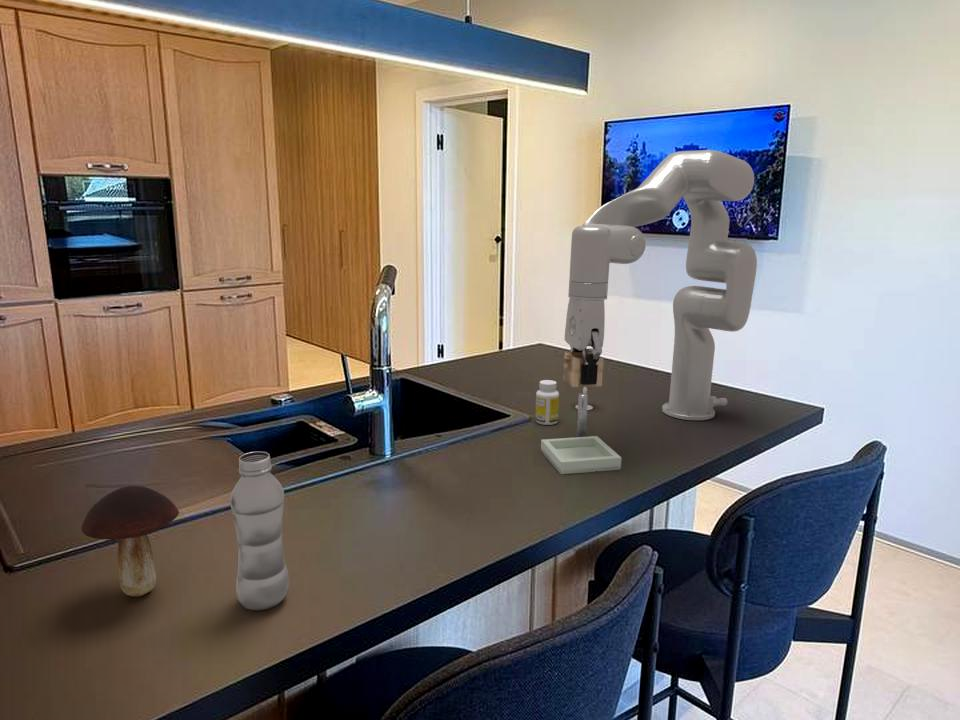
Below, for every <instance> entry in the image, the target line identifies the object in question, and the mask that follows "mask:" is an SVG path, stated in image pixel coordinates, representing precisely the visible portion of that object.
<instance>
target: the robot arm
mask: <svg viewBox="0 0 960 720" xmlns="http://www.w3.org/2000/svg"><path fill="white" fill-rule="evenodd" d="M754 184H755V174H754V171H753V169H752V166H751V165H750V164H749V163H748V162H747V161H746V160H743V159H740V158H738V157H735V156H734V155H731V154H728V153H726V152H723V151H719V150H715V149H703V150H702V149H700V150H680V151H675V152H673V153H670V154H668V155H667V156H666V157H665V158H664V159H663V160H662V161H661V162H660V163H659V164H658V165H657V166H656V167H655V168H654V169H653V170H652V171H651V172H650V174H649V175H648V176H647V177H646V178H645V179H644V180H643V181H642V183H640V185H638V187H636V188H635V189H632V190H630V191H628V192H626V193H624V194H621V195H620V196H618V197H617V198H615V199H612V200H611V201H608V202H606V203H604V204H603V205H602V206H600V207H599V208H597V209H596V210H595V211H594V212H592V214H591V215H590V216H589V217H588V218H587V219H586V220H585V221H584V222H583V224H582V225H580V226H576V227H574V229H573V230H572V233H571V241H570V243H571V245H570V258H569V259H570V260H569V261H570V262H569V263H570V264H569V279H568V299H569V300H568V303H567V310H566V311H567V312H566V319H565V328H564V329H565V331H564V341H565V342H566V344H567V345H569V346H570V350H569V353H574V352H583V363H584V364H582V365H581V381H580V383H581V384H582V385H591V384H596V383H597V371H598V364H599V358H600V357H601V355H602V353H603V346H604V339H605V320H606V319H605V301H606V300H608V289H609V277H610V275H609V274H610V264H618V265H628V264H633V263H635V262H637V261H638V260H640V258H641V257H643V255H644V252H645V250H646V247H647V246H646V237H645V235H644V234H643V232H642V231H641V230H640V229H639V228H637V227H640V226H644V225H649V224H653V223H655V222H659V221H661V220H663V219H665V218H666V217H668V215H669V214H670V213H671V212H672V211H673V209H674V208H675V207H676V206H677V205H678V204H679V203H680V201H681V200H682V199H683V200H684V201H685V203H686V205H687V207H688V208H687V209H688V210H689V213H690V220H691V221H690V233H689V239H688V247H687V254H686V259H685V260H686V261H685V271H686V274H687V275H688V277H690V278H691V279H693V280H698V281H703V282H704V281H705V282H711V283H720V284H721V283H722V284H725V286H726V287H725V288H716V287H711V286H710V287H709V286H701V285H689V286H685V287H682V288H681V289H679V290H678V291H677V292H676V294H675V296H674V298H673V303H672V313H673V321H674V340H673V341H674V343H673V352H672V364H671V374H670V375H671V377H670V387H669V399H668V402H665V403H663V405H662V406H661V408H662V409H661V411H662V412H663V413H664V414H665V415H667V416H669V417H672V418H675V419H679V420H686V421H707V420H711V419H713V418H714V417H715V415H716V410H715V409H714V408H716V407H717V406H718V407H719V406H720V407H721V406H723V407H724V406H727V404H728V399H727V398H726V397H718V398H717V397H716V396H712V395H711V388H712V380H713V370H714V360H715V359H714V358H715V350H716V346H715V345H716V343H715V340H714V339H715V338H714V337H713V334H712V331H710V329H712V330H718V331H723V332H732V333H733V332H739V331H740V330H742V329H743V328H744V327H745V325H746V324H747V321H748V320H749V315H750V311H751V307H752V298H753V293H754V287H755V283H756V282H755V280H756V275H757V267H758V260H757V254H756V252H755V249H754V248H753V247H752V246H751V245H750V244H749V243H745V242H741V241H740V242H739V241H736V242H735V241H729V239H728V236H729V229H730V216H729V213H728V211H727V208H726V207H725V205H724V204H723V202H739V201H742V200H744V199H745V198H747V197H748V196H749V195H750V193H751V192H752V190H753V188H754ZM588 347H591V348H588ZM587 352H592V353H590V354H589V356H588V354H587Z"/></svg>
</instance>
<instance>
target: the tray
mask: <svg viewBox="0 0 960 720" xmlns="http://www.w3.org/2000/svg"><path fill="white" fill-rule="evenodd" d="M540 452H541V453H542V455H543V456H544V457H545V458H546V459H547V460H548V461H549V462H550V464H551V465H552V466H553V467H554V468H555V470H556V471H557V472H558V473H559V475H570V474H583V473H585V474H586V473H595V472H596V471H597V472H606V471H607V472H609V471H619V470H622V457H621V456H620V455H619V454H618V453H617V452H616V451H615V450H614V449H612V448H611V447H610V446H609V445H608V444H607V443H605V442H604V441H603V439H601V438H600V437H599V436H597V435H591V436H586V437H577V436H576V437H563V438H546V439H541V440H540ZM597 472H596V473H597Z"/></svg>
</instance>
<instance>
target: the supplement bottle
mask: <svg viewBox="0 0 960 720" xmlns="http://www.w3.org/2000/svg"><path fill="white" fill-rule="evenodd" d="M538 388H539V390H537V391H536V393H535V422H536V423H537V424H539V425H544V426H552V425H556V424H557V423H558V422H559V411H560V409H559V408H560V407H559V406H560V393H559V391H558V390H556V389H557V381H555V380H550V379H544V380H540V381H539V386H538Z"/></svg>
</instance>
